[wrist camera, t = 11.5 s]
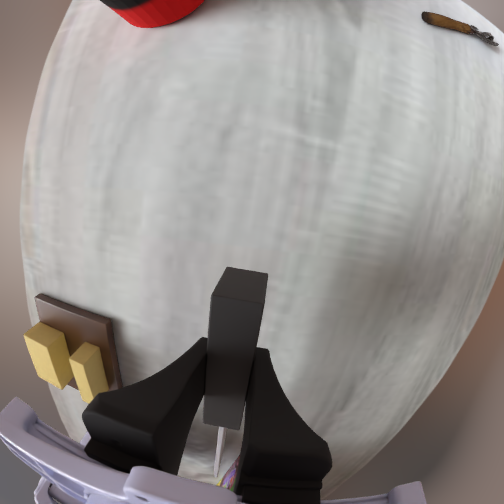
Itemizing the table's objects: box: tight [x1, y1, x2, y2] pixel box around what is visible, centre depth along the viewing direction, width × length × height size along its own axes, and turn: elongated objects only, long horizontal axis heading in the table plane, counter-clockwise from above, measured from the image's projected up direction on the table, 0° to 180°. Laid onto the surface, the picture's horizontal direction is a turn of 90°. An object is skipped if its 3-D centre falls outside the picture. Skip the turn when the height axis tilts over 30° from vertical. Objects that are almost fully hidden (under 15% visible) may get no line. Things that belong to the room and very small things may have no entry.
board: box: [35, 294, 123, 391], centre depth 23 cm, size 12×10×1 cm
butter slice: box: [69, 342, 109, 403], centre depth 21 cm, size 6×2×3 cm, turn 172°
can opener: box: [422, 12, 499, 46], centre depth 11 cm, size 9×2×1 cm, turn 94°
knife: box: [203, 267, 268, 477], centre depth 14 cm, size 16×2×3 cm, turn 172°
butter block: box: [24, 322, 74, 390], centre depth 22 cm, size 6×4×3 cm, turn 172°
